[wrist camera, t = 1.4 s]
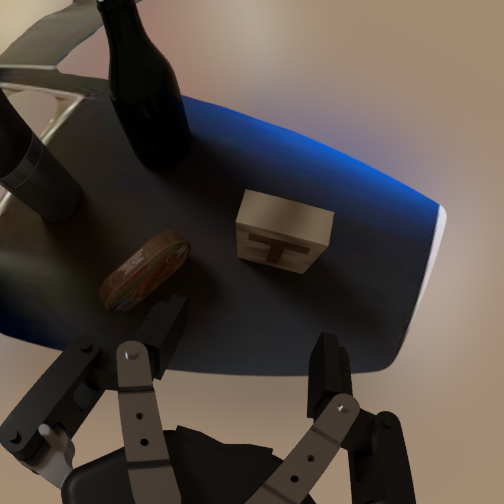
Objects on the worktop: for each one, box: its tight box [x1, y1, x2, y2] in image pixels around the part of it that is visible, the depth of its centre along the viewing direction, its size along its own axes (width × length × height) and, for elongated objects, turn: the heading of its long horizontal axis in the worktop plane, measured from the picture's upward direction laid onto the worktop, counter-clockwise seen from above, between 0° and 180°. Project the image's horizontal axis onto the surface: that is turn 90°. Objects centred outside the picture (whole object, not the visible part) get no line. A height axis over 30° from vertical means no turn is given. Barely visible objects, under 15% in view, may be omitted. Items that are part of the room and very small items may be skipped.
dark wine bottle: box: [96, 0, 191, 168], centre depth 34 cm, size 10×10×33 cm
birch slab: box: [236, 189, 334, 274], centre depth 38 cm, size 10×4×14 cm, turn 75°
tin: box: [99, 231, 191, 314], centre depth 39 cm, size 15×3×8 cm, turn 132°
